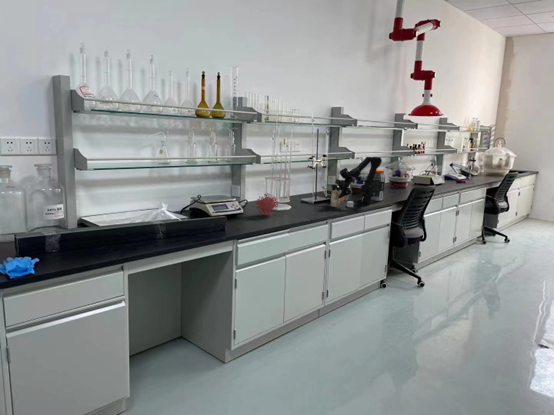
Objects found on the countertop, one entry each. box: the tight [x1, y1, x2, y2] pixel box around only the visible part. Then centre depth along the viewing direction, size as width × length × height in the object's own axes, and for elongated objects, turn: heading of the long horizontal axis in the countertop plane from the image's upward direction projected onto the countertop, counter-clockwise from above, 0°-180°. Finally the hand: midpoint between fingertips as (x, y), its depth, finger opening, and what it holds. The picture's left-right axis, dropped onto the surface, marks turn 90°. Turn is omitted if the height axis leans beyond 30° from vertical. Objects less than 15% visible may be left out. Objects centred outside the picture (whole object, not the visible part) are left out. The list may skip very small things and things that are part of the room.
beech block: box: [330, 190, 340, 208], centre depth 325 cm, size 4×4×12 cm
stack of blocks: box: [337, 185, 350, 202], centre depth 353 cm, size 21×6×12 cm, turn 144°
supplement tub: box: [366, 169, 386, 202], centre depth 364 cm, size 16×16×26 cm
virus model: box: [255, 193, 279, 216], centre depth 279 cm, size 15×15×15 cm
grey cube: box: [346, 200, 354, 208], centre depth 326 cm, size 4×4×4 cm
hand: (334, 197), depth 324 cm, fingers open, 9 cm apart
